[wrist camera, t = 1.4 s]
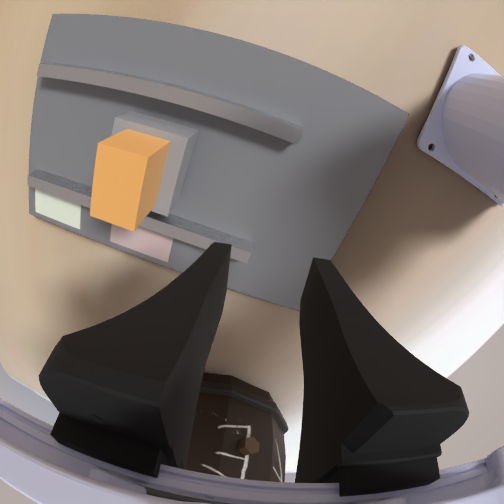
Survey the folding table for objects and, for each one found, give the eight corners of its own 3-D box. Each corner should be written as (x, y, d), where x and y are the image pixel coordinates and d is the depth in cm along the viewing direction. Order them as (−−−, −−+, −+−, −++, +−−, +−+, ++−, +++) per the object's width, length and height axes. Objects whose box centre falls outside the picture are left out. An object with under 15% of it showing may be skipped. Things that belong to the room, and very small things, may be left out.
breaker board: (396, 109, 16) (417, 117, 13) (298, 293, 24) (299, 323, 21) (70, 15, 13) (41, 13, 10) (43, 202, 21) (20, 221, 18)
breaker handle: (198, 130, 15) (168, 153, 11) (178, 201, 18) (148, 244, 14) (132, 111, 15) (84, 130, 11) (118, 181, 17) (76, 217, 13)
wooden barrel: (323, 403, 33) (325, 529, 19) (236, 443, 41) (224, 534, 28) (184, 338, 28) (139, 498, 15) (128, 397, 36) (94, 497, 23)
